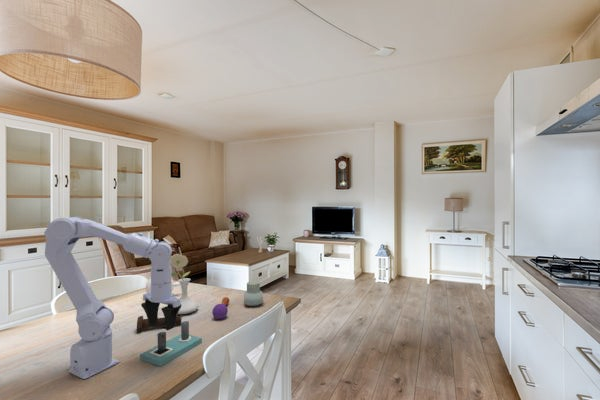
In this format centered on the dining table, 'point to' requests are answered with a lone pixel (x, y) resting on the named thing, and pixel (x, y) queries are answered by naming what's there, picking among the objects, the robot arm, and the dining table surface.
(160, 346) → the pin
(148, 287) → the piggy bank
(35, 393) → the dining table surface
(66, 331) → the dining table surface
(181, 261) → the flower in vase
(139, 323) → the bolt
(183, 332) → the pin board
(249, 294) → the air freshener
